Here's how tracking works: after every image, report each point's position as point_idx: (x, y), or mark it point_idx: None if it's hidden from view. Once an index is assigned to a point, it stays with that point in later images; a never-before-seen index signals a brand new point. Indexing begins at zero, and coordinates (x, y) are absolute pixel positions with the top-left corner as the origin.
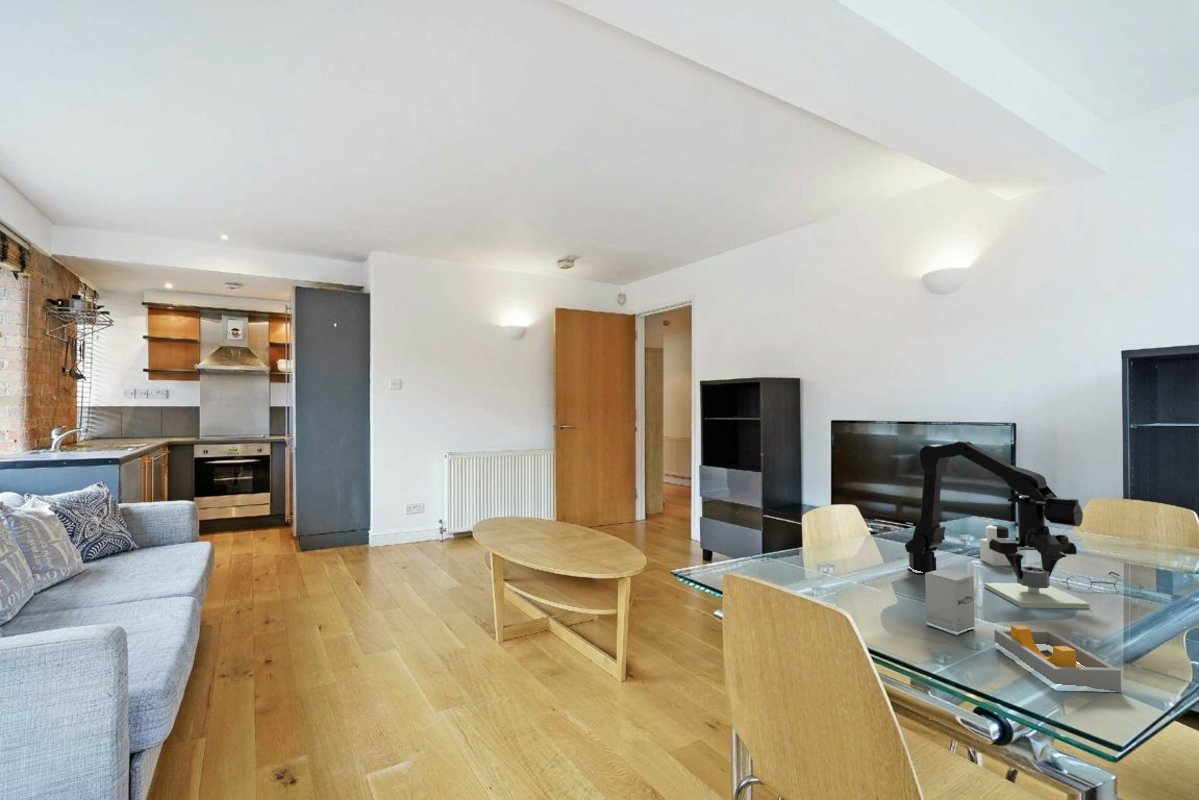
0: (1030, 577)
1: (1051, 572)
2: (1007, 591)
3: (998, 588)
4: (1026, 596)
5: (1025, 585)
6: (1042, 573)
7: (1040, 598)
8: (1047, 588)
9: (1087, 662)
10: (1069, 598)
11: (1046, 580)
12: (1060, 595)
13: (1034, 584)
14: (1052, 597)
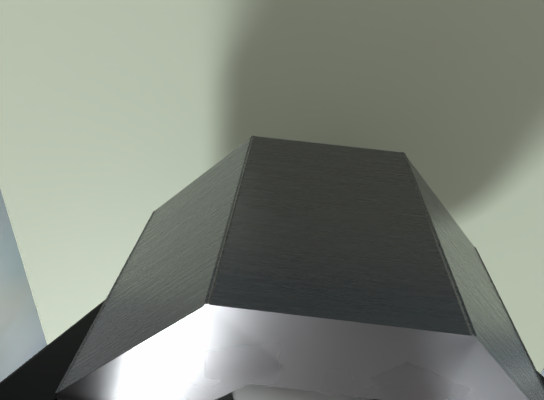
0: (482, 293)
1: (19, 368)
2: (532, 267)
3: (529, 333)
4: (494, 119)
5: (467, 240)
6: (303, 303)
7: (395, 38)
8: (101, 293)
9: None
10: (44, 14)
11: (237, 198)
12: (91, 119)
13: (421, 191)
14: (221, 63)
